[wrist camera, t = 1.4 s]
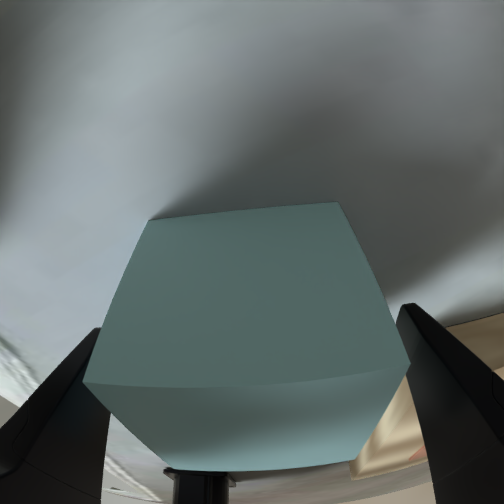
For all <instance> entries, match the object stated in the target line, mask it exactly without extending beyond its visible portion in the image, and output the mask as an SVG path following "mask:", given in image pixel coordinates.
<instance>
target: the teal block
mask: <svg viewBox="0 0 504 504" xmlns="http://www.w3.org/2000/svg"><path fill="white" fill-rule="evenodd" d="M410 364H411V363H410V361H409V358H408V355H407V353H406V350H405V347H404V345H403V342H402V340H401V337H400V335H399V332H398V330H397V327H396V325H395V322H394V320H393V317H392V315H391V313H390V310H389V308H388V306H387V303H386V301H385V299H384V296H383V294H382V292H381V289H380V287H379V285H378V283H377V280H376V278H375V276H374V274H373V272H372V269H371V267H370V265H369V263H368V261H367V259H366V257H365V255H364V252H363V250H362V248H361V246H360V244H359V242H358V240H357V238H356V236H355V234H354V232H353V230H352V228H351V226H350V224H349V222H348V220H347V218H346V216H345V214H344V212H343V210H342V208H341V207H340V205H339V203H338V202H328V203H315V204H302V205H290V206H278V207H267V208H256V209H246V210H236V211H226V212H216V213H207V214H198V215H190V216H181V217H173V218H165V219H157V220H149V221H148V222H147V224H146V226H145V228H144V231H143V233H142V235H141V237H140V239H139V241H138V243H137V245H136V247H135V250H134V252H133V254H132V256H131V258H130V261H129V263H128V265H127V267H126V270H125V272H124V274H123V276H122V279H121V281H120V283H119V286H118V288H117V290H116V293H115V295H114V298H113V300H112V302H111V305H110V307H109V310H108V312H107V315H106V317H105V320H104V323H103V325H102V328H101V330H100V333H99V336H98V338H97V341H96V344H95V347H94V349H93V352H92V355H91V358H90V361H89V364H88V367H87V370H86V372H85V375H84V379H83V383H84V384H85V385H86V387H87V388H88V389H89V390H90V391H91V392H92V393H93V394H94V395H95V397H96V398H97V399H98V400H99V401H100V402H101V403H102V404H103V405H104V406H105V407H106V408H107V409H108V410H109V411H110V412H111V413H112V414H113V415H114V416H115V417H116V418H117V419H118V420H119V421H120V422H121V423H122V424H123V425H124V426H125V427H126V428H127V429H128V430H129V431H130V432H131V433H132V434H134V435H135V436H136V437H137V438H138V439H139V440H140V441H141V442H142V443H143V444H145V445H146V446H147V447H148V448H149V449H150V450H151V451H153V452H154V453H155V454H156V455H157V456H159V457H160V458H161V459H162V460H163V461H165V462H166V463H167V464H168V465H170V466H171V467H172V468H173V469H180V470H197V471H260V470H277V469H289V468H300V467H309V466H317V465H324V464H331V463H337V462H343V461H349V460H354V459H355V458H356V457H357V455H358V454H359V452H360V451H361V449H362V448H363V446H364V445H365V443H366V442H367V440H368V439H369V437H370V436H371V434H372V432H373V431H374V429H375V428H376V426H377V424H378V423H379V421H380V419H381V418H382V416H383V414H384V413H385V411H386V409H387V407H388V406H389V404H390V402H391V400H392V399H393V397H394V395H395V393H396V391H397V389H398V388H399V386H400V384H401V382H402V380H403V378H404V376H405V374H406V372H407V370H408V368H409V366H410Z"/></svg>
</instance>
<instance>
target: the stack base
mask: <svg viewBox="0 0 504 504" xmlns="http://www.w3.org/2000/svg"><path fill="white" fill-rule="evenodd" d="M446 329H447V330H448V331H449V332H450V333H451V334H453V335H454V336H455V337H456V338H457V339H458V340H460V341H461V342H462V343H463V344H464V345H465V346H466V347H468V348H469V349H470V350H471V351H472V352H473V353H474V354H475V355H477V356H478V357H479V358H480V359H481V360H482V361H483V362H484V363H485V364H486V365H488V366H489V367H490V368H491V369H492V371H494V372H495V373H496V374H498V375H499V376H500V377H501V378H502V379H503V380H504V313H501V314H497V315H494V316H490V317H486V318H483V319H479V320H475V321H471V322H467V323H463V324H459V325H455V326H451V327H446ZM426 461H428V458H427V453H426V449H425V445H424V441H423V436H422V432H421V428H420V425H419V421H418V417H417V413H416V409H415V406H414V402H413V399H412V395H411V392H410V388H409V385H408V382H407V378H406V375H405V376H404V378H403V380H402V382H401V384H400V386H399V388H398V389H397V391H396V393H395V395H394V397H393V399H392V400H391V402H390V404H389V406H388V407H387V409H386V411H385V413H384V414H383V416H382V418H381V419H380V421H379V423H378V424H377V426H376V428H375V429H374V431H373V432H372V434H371V436H370V437H369V439H368V440H367V442H366V443H365V445H364V446H363V448H362V449H361V451H360V452H359V454H358V455H357V457H356V458H355V459H354V460H349V466H350V473H351V479H352V481H353V480H358V479H363V478H367V477H372V476H376V475H380V474H384V473H388V472H392V471H396V470H400V469H403V468H407V467H410V466H413V465H417V464H420V463H423V462H426Z"/></svg>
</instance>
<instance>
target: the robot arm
mask: <svg viewBox="0 0 504 504" xmlns="http://www.w3.org/2000/svg"><path fill="white" fill-rule="evenodd" d="M396 327H397V330H398V332H399V335H400V337H401V340H402V342H403V345H404V347H405V350H406V353H407V355H408V358H409V361H410V363H411V364H410V366H409V368H408V370H407V372H406V374H405V375H406V378H407V382H408V385H409V388H410V392H411V395H412V399H413V402H414V406H415V409H416V413H417V417H418V421H419V425H420V428H421V432H422V436H423V441H424V445H425V449H426V453H427V458H428V462H429V467H430V472H431V477H432V482H433V488H434V493H435V499H436V504H504V380H503V379H502V378H501V377H500V376H499V375H498V374H496V373H495V372H494V371H492V369H491V368H490V367H489V366H488V365H486V364H485V363H484V362H483V361H482V360H481V359H480V358H479V357H478V356H477V355H475V354H474V353H473V352H472V351H471V350H470V349H469V348H468V347H466V346H465V345H464V344H463V343H462V342H461V341H460V340H458V339H457V338H456V337H455V336H454V335H453V334H451V333H450V332H449V331H448V330H447V329H446V328H444V327H443V326H442V325H441V324H440V323H439V322H437V321H436V320H435V319H434V318H433V317H431V316H430V315H429V314H428V313H427V312H425V311H424V310H423V309H422V308H421V307H419V306H418V305H417V304H415V303H408V304H403V305H402V306H401V308H400V311H399V314H398V317H397V321H396ZM100 330H101V328H94V329H93V330H92V331H91V332H90V333H89V334H88V335H87V336H86V337H85V338H84V339H83V340H82V341H81V342H80V343H79V344H78V345H77V346H76V347H75V349H74V350H73V351H72V352H71V353H70V354H69V355H68V356H67V357H66V358H65V359H64V360H63V361H62V362H61V363H60V364H59V365H58V366H57V368H56V369H55V370H54V371H53V372H52V373H51V374H50V375H49V376H48V377H47V378H46V379H45V381H44V382H43V383H42V384H41V385H40V386H39V387H38V388H37V389H36V390H35V392H34V393H33V394H32V395H31V396H30V397H29V398H28V400H26V402H25V403H24V404H23V405H22V406H21V407H20V408H19V409H18V411H17V412H16V413H15V414H14V415H13V416H12V417H11V418H10V419H9V420H8V421H7V422H6V423H5V424H4V425H3V426H2V427H1V428H0V504H101V500H100V499H101V491H102V478H103V469H104V460H105V451H106V443H107V436H108V428H109V422H110V415H111V412H110V411H109V410H108V409H107V408H106V407H105V406H104V405H103V404H102V403H101V402H100V401H99V400H98V399H97V398H96V397H95V395H94V394H93V393H92V392H91V391H90V390H89V389H88V388H87V387H86V385H85V384H84V383H83V379H84V375H85V372H86V370H87V367H88V364H89V361H90V358H91V355H92V352H93V349H94V347H95V344H96V341H97V338H98V336H99V333H100ZM163 473H164V474H165V475H166V476H168V477H169V478H171V479H172V480H174V487H173V500H172V504H229V487H236V483H235V482H234V480H233V479H232V478H231V477H230V475H229V474H228V473H226V472H200V471H182V470H169V469H164V470H163Z"/></svg>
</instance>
